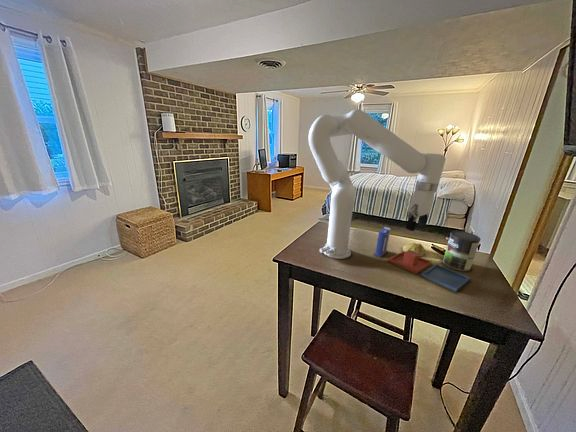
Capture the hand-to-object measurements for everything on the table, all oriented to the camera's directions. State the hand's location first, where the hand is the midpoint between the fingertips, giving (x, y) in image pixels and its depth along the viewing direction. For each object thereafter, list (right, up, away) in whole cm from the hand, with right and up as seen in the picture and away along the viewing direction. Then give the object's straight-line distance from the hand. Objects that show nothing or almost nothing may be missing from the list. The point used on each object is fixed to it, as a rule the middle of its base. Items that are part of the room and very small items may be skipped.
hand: (415, 227), depth 99 cm
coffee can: (+20, -17, +5) cm, 27 cm away
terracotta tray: (0, -16, +5) cm, 17 cm away
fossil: (+8, -12, +16) cm, 22 cm away
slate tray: (+8, -20, -5) cm, 22 cm away
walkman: (-9, -13, +13) cm, 21 cm away
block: (0, -15, +5) cm, 16 cm away
